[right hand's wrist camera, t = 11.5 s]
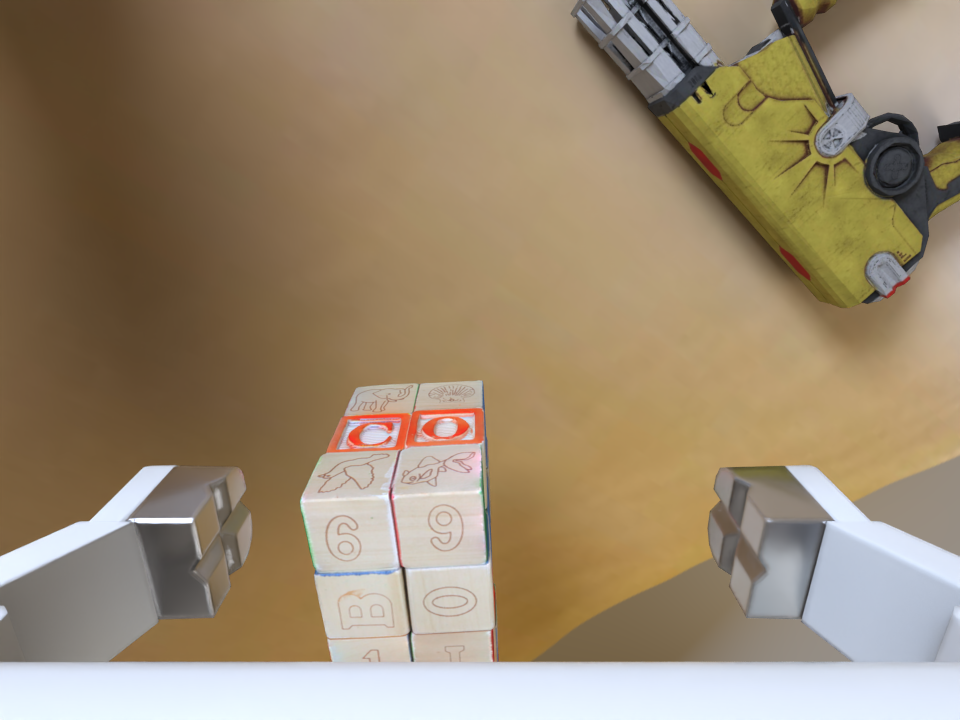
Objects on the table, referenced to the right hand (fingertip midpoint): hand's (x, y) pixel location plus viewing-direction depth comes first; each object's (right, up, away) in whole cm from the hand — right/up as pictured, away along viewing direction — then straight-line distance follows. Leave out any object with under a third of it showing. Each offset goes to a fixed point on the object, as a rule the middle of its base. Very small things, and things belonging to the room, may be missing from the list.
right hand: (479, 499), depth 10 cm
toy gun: (+19, +19, +24) cm, 36 cm away
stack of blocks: (-2, -8, +22) cm, 23 cm away
